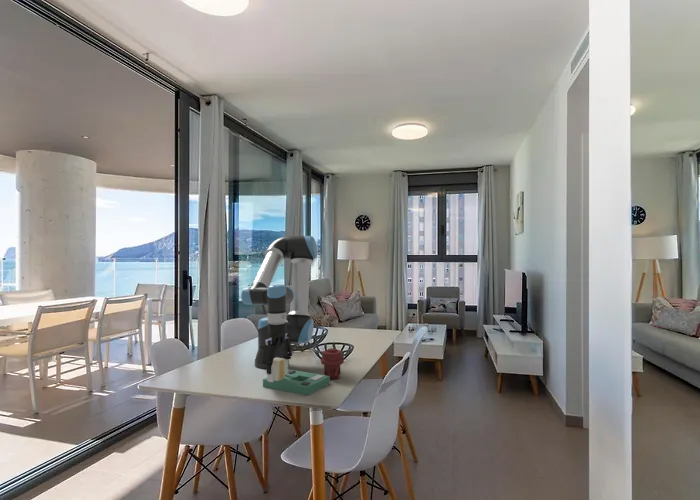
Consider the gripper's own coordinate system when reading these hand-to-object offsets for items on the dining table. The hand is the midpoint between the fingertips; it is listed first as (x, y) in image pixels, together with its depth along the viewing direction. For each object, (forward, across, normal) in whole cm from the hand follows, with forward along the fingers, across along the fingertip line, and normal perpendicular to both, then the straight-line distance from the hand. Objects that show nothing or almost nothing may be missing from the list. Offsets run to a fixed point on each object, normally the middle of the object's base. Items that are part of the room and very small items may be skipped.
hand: (278, 378), depth 162 cm
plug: (0, -1, 0) cm, 1 cm away
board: (+3, +4, -6) cm, 8 cm away
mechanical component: (+4, +19, -14) cm, 24 cm away
